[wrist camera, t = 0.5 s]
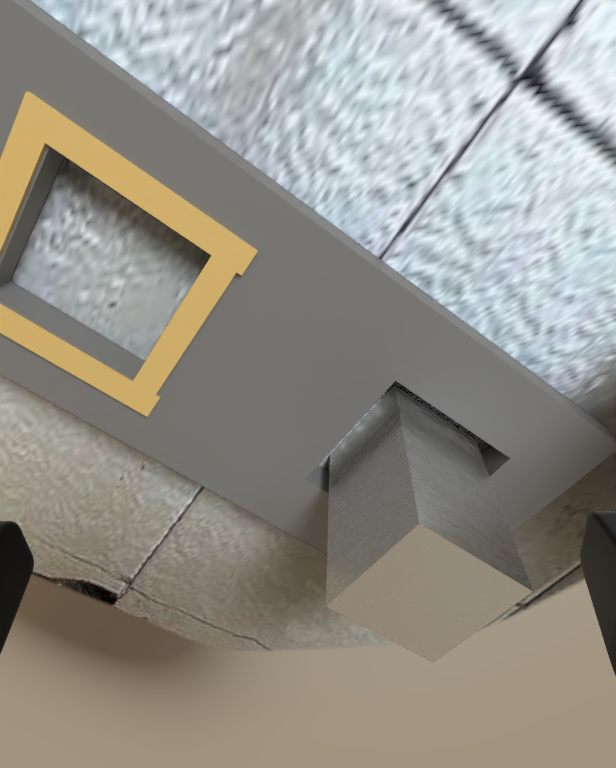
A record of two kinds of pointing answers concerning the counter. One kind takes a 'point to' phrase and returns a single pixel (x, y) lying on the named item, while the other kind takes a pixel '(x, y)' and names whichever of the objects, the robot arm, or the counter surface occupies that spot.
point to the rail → (245, 309)
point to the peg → (417, 531)
